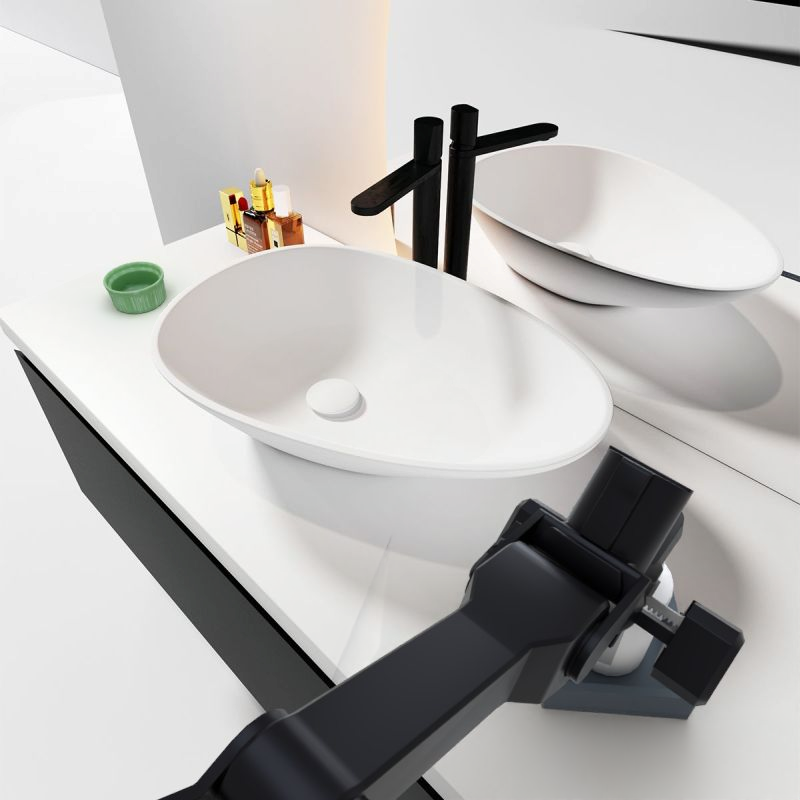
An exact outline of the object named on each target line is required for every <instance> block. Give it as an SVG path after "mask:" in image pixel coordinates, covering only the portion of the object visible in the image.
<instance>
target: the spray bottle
mask: <svg viewBox="0 0 800 800" xmlns="http://www.w3.org/2000/svg"><path fill="white" fill-rule="evenodd" d="M667 559H668V557H667V558H666V560H665V561H664V563H663V564H662V567H663V572H662V573H661V575H660V577H659V578H658V580H659V581H661V583H660V584H659V586H658V588H657V589H656V591H655V592H654V594H653V597H654V598H656V599H657V600H659V601H661V602H662V603H664V604H665V605H667V606H668V604H669V602H670V600H671V598H672V594H673V593H674V585H675V584H674V580H673V576H672V572H671V571H670V569H669V568H668V566H667V565H666V562H667ZM643 609H644V610H646V611H647V612H649V613H650V614H652V615H653V616H655V617H656V618H658V619H659V620H661V619H662V617H663V615H661V616H659V617H658V616H657V614H658V612H655V613H654V614H653V613H652V611H653V609H650V610H647V609H648V605H647V606H645V607H643ZM653 637H654V636H652V635H651V634H649V633H648V632H647V631H645V630H644V629H642V628H641V627H639V626H638V625H636V624H635V623H634V624H633V625H632V626H631V627H630V628H628V629H626V630H625V631H623V632H622V633H621V634H620V636H619V638H618V639H617V641H616V643H615V644H614V646H613V647H611V648H609V647H607V648H606V650H605V651H604V652H603V654H602V655H601V656H600V658H599V659H598V661H597V662H596V663H595V665H594V666H593V668H592V670H593V671H595V672H598V673H600V674H603V675H606V676H621V675H625V674H629V673H631V672H632V671H633V670H635V669H636V668H638V666H639V665H640V663H641V662H642V660H643V658H644V656H645V654H646V652H647V649H648V647H649V645H650V643H651V641H652V639H653Z"/></svg>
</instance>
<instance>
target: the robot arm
mask: <svg viewBox="0 0 800 800" xmlns="http://www.w3.org/2000/svg"><path fill="white" fill-rule="evenodd" d="M694 492H695V491H694V490H693V489H691V488H690V487H688V486H687V485H684V484H683V483H681V482H679V481H677V480H676V479H674V478H672V477H670V476H669V475H667V474H665V473H663V472H661V471H659V470H657V469H656V468H654V467H652V466H650V465H649V464H647V463H645V462H643V461H641V460H639V459H637V458H636V457H634V456H632V455H630V454H629V453H626V452H624V451H623V450H621V449H619V448H617V447H616V446H613V445H612V444H609V446H608V447H607V448H606V450H605V453H604V454H603V456H602V458H601V459H600V461H599V463H598V464H597V466H596V468H595V469H594V471H593V473H592V475H591V477H590V478H589V480H588V481H587V483H586V485H585V487H584V488H583V490H582V492H581V494H580V495H579V497H578V499H577V500H576V502H575V504H574V505H573V507H572V509H571V511H570V512H569V514H568V516H567V517H565V516H564V515H563V514H561V513H560V512H558V511H557V510H555V509H553V508H552V507H550V506H548V505H547V504H546V503H544V502H542V501H541V500H539V499H537V498H531V497H530V498H527V499H523V500H521V501H520V502H519V503H518V504H517V505H516V506H515V508H514V509H513V510H512V513H511V514H510V516H509V518H508V520H507V521H506V523H505V525H504V527H503V528H502V530H501V532H500V534H499V535H498V537H497V538H496V541H495V542H494V543H493V544H492V545H491V546H490V547H489V548H488V549H487V550H486V551H485V552H484V553H483V554H482V555H481V556H480V557H479V558H478V559H477V560H476V561H475V562H474V563H473V565H472V566H471V568H470V570H469V572H468V580H467V583H466V586H465V589H464V594H463V597H462V599H461V602H460V604H459V606H458V607H457V609H455V610H454V611H452V612H451V613H449V614H447V615H446V616H444V617H443V618H442V619H439V620H438V621H437V622H435V623H433V624H432V625H430V626H429V627H427V628H425V629H424V630H422V631H421V632H419V633H417V634H416V635H414V636H413V637H410V639H407V641H405V642H403V643H401V644H400V645H398V646H397V647H395V648H393V649H392V650H390V651H389V652H387V653H386V654H384V655H382V656H381V657H379V658H378V659H376V660H374V661H373V662H371V663H369V664H368V665H367V666H365V667H363V668H361V669H360V670H358V671H357V672H356V673H353V674H352V675H351V676H349V677H347V678H346V679H344V680H343V681H341V682H340V683H338V684H337V685H335V686H333V687H332V688H330V689H328V690H327V691H325V692H324V693H321V694H320V695H319V696H317V697H316V698H314V699H312V700H310V701H309V702H307V703H306V704H305V705H303V706H301V707H300V708H298V709H296V710H295V711H293V712H291V713H290V714H289V713H288V712H287V711H286V709H284V708H272V709H271V710H268V711H266V712H263V713H262V714H260V715H259V716H257V717H256V718H255V719H253V720H251V722H250V723H248V724H246V725H245V726H244V728H243V729H241V730H240V731H239V732H238V734H236V735H235V737H233V739H232V740H231V741H230V742H229V743H228V744H227V745H226V746H225V748H224V749H223V750H222V751H221V753H220V754H219V755H218V756H217V757H216V758H215V760H214V761H213V762H212V763H211V764H210V765H209V766H208V768H207V769H206V770H205V771H204V773H203V774H202V775H200V777H199V778H198V780H197V781H196V782H195V783H193V784H192V785H189V786H186V787H185V788H182V789H179V790H177V791H174V792H172V793H170V794H168V795H165V796H163V797H160V798H158V799H157V800H397V799H398V798H399V797H400V796H402V794H404V793H405V792H406V791H407V790H408V789H409V788H410V787H411V786H412V785H413V784H415V783H416V782H417V781H418V780H419V779H421V777H422V776H424V775H425V774H426V773H427V772H428V771H429V770H430V769H432V768H433V766H435V765H436V764H437V763H438V762H439V761H440V760H441V759H443V758H444V757H445V756H446V755H447V754H448V753H449V752H450V751H452V750H453V749H454V748H455V747H456V746H457V745H459V743H460V742H461V741H462V740H464V738H466V737H467V736H468V735H469V734H470V733H471V732H472V731H473V730H474V729H476V728H478V726H479V725H480V724H481V723H483V722H484V720H486V719H487V718H488V717H490V715H491V714H492V713H493V712H495V710H497V709H499V708H500V707H501V706H502V705H504V704H505V703H515V704H528V705H542V703H543V702H544V701H545V700H547V699H548V698H549V697H550V696H551V695H553V694H554V693H555V692H556V691H557V690H559V689H560V688H561V687H562V686H563V685H564V684H565V683H566V682H567V681H568V680H569V679H571V680H572V681H573V682H575V683H576V684H578V683H580V682H581V681H582V680H583V679H584V678H585V677H586V675H587V674H588V673H589V672H590V670H591V669H592V668H593V666H594V665H595V663H596V662H597V661H598V659H599V658H600V656H601V655H602V654H603V652H604V651H605V650H606V648H607V647H609V648H611V647H613V646H614V644H615V643H616V641H617V639H618V638H619V636H620V634H621V633H622V632H623V631H625V630H626V629H628V628H630V627H631V626H632V625H633V624H634V623H635V624H636V625H638V626H639V627H641V628H642V629H644V630H645V631H647V632H648V633H649V634H651V635H652V636H654V637H655V638H657V639H658V640H660V641H661V642H663V645H662V647H661V649H660V651H659V653H658V656H657V658H656V660H655V662H654V665H653V670H652V672H651V674H650V676H652V677H653V678H654V679H656V680H657V681H659V682H660V683H661V684H663V685H664V686H665V687H667V688H668V689H670V690H671V691H672V692H674V693H675V694H677V695H678V696H679V697H681V698H682V699H683V700H685V701H686V702H688V703H689V704H690V705H692V706H693V707H695V708H696V707H701V706H706V705H707V703H708V702H709V700H710V699H711V697H712V696H713V694H714V692H715V691H716V690H717V688H718V686H719V684H720V683H721V682H722V679H723V678H724V677H725V675H726V674H727V671H728V670H729V668H730V667H731V665H732V663H733V662H734V661H735V659H736V657H737V656H738V654H739V652H740V651H741V649H742V648H743V647H744V645H745V643H746V638H745V636H744V632H743V629H742V628H740V627H738V626H736V625H735V624H734V623H732V622H730V621H729V620H727V619H726V618H724V617H723V616H721V615H720V614H718V613H717V612H715V611H714V610H712V609H710V608H708V607H707V606H705V605H703V604H701V603H700V602H698V601H697V600H695V599H693V600H692V601H691V602H690V604H689V605H688V606H687V608H686V609H685V611H684V612H681V611H680V612H678V613H677V612H676V611H674V610H673V609H671V608H670V607H668V606H667V605H665V604H664V603H662V602H661V601H659V600H657V599H656V598H654V597H653V594H654V592H655V591H656V589H657V588H658V586H659V584H660V583H661V581H659V580H658V578H659V577H660V575H661V573H662V572H663V567H662V564H663V563H664V561H665V560H666V561H667V559H668V557H669V555H670V554H671V553H672V551H673V550H674V548H675V546H677V544H678V543H679V542H680V540H681V538H682V536H683V531H684V523H685V515H684V513H683V510H684V509H685V508H686V506H687V504H688V502H689V501H690V499H691V497H692V496H693V494H694ZM666 558H667V559H666ZM647 605H648V609H647V610H650V609H653V611H652V613H653V614H654V613H655V612H658V614H657V616H658V617H659V616H661V615H663V617H662V620H665V619H666V618H667V619H668V620H667V623H668V624H669V623H670V622H671V621H672V622H673V623H672V626H671V627H670V626H668V625H667V624H665V623H664V622H662V621H661V620H659V619H658V618H656V617H655V616H653V615H652V614H650V613H649V612H647V611H646V610H644V609H643V607H645V606H647Z"/></svg>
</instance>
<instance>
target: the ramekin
mask: <svg viewBox="0 0 800 800" xmlns="http://www.w3.org/2000/svg"><path fill="white" fill-rule="evenodd" d="M164 278H165V273H164V270H163V268H162V267H161V266H160V265H159V264H157V263H154V262H152V261H151V262H150V261H132V262H127V263H123V264H120V265H118V266H116V267H114V268H112V269H111V270H110V271H108V272H107V273H106V274H105V276H104V277H103V281H102V283H103V286H104V288H105V290H106V291H107V293H108V295H109V297H110V300H111V302H112V305H113V306H114V308H115V309H116V310H117V311H119V312H121V313H125V314H142V313H146V312H150V311H153V310H155V309H157V308H158V307H159V306H160V305H161V304H163V303H164V301H165V299H166V297H167V293H166V286H165V285H166V284H165V281H164V280H165V279H164Z"/></svg>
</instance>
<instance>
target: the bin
mask: <svg viewBox="0 0 800 800" xmlns="http://www.w3.org/2000/svg"><path fill="white" fill-rule="evenodd" d="M668 607H670V608H671V609H673V610H674V611H676V612H677V613H679V610H678V605H677V600H676V597H675V593H674V592H673V594H672V598H671V600H670V602H669V604H668ZM667 620H668V619H667V618H666V619H665V620H662V619H661V621H662V622H664V623H665V624H667V625H668V626H670V627H671V626H672V623H673V622H672V621H671V622H670V623H669V624H668V623H667ZM662 645H663V642H661V641H660V640H658V639H657V638H655V637H653V639H652V641H651V643H650V645H649V647H648V649H647V652H646V654H645V656H644V658H643V660H642V662H641V663H640V665H639V666H638V668H636V669H635V670H633V671H632V672H631V673H629V674H625V675H621V676H606V675H603V674H600V673H598V672H595V671H593V670H592V669H591V670H590V672H589V673H588V674H587V675H586V677H585V678H584V679H583V680H582V681H581V682H580V683H578V684H576V683H575V682H573V681H572V680H571V679H569V680H568V681H567V682H566V683H565V684H564V685H563V686H562V687H561V688H560V689H559V690H557V691H556V692H555V693H554V694H553V695H551V696H550V697H549V698H548V699H547V700H545V701H544V702H543V703H541V708H542V709H546V710H556V711H557V710H558V711H571V712H583V713H584V712H587V713H597V714H610V715H611V714H612V715H624V716H639V717H650V718H662V719H664V718H665V719H677V720H688V719H689V718H690V716H691V715H692V713H693V711H694V709H695V708H696V706H695V707H693V706H692V705H690V704H689V703H688V702H686V701H685V700H683V699H682V698H681V697H679V696H678V695H677V694H675V693H674V692H672V691H671V690H670V689H668V688H667V687H665V686H664V685H663V684H661V683H660V682H659V681H657V680H656V679H654V678H653V677H652V676H650V674H651V672H652V670H653V665H654V662H655V660H656V658H657V656H658V653H659V651H660V649H661V647H662Z"/></svg>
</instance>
